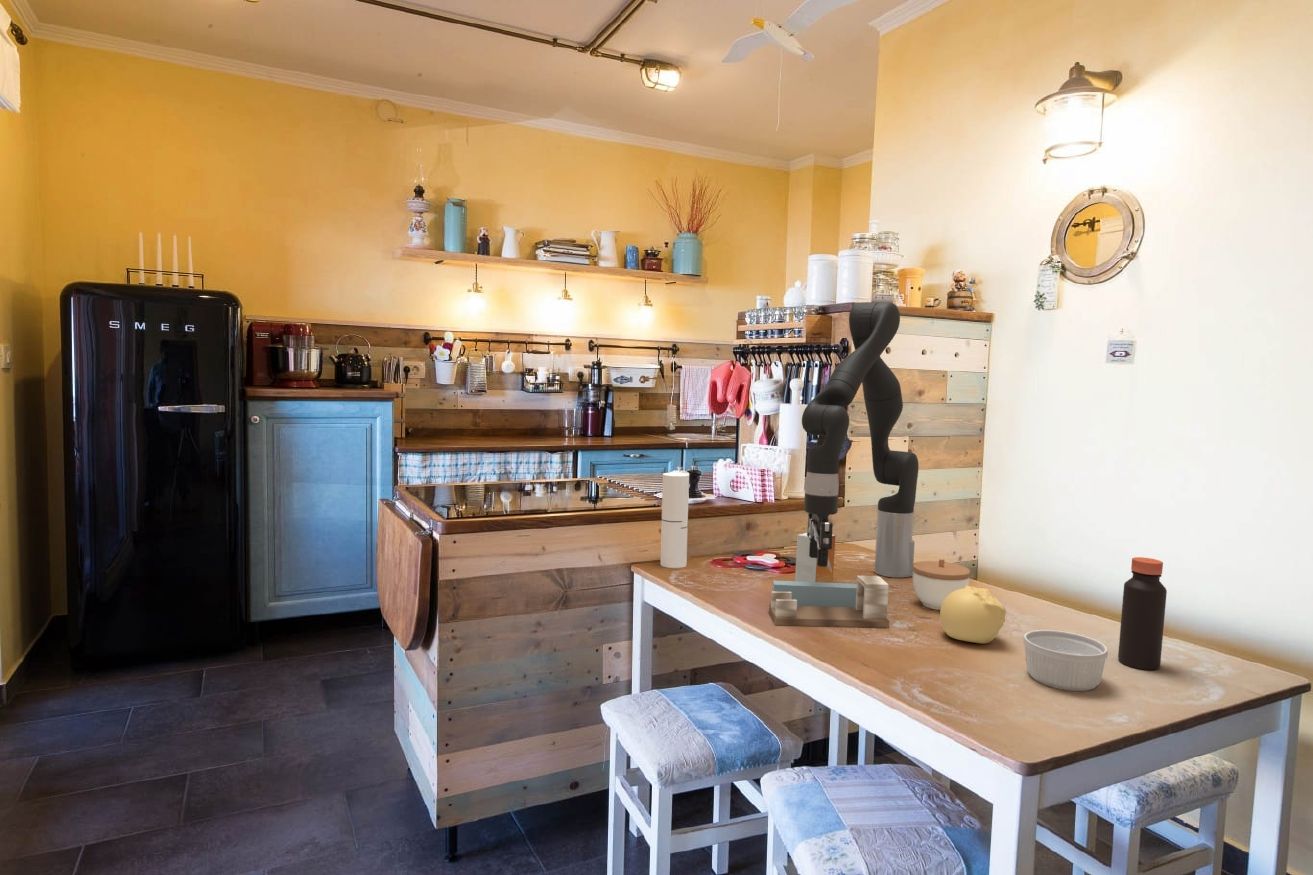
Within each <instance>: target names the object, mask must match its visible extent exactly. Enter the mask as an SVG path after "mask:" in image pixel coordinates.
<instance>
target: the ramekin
mask: <svg viewBox="0 0 1313 875" xmlns="http://www.w3.org/2000/svg"><path fill="white" fill-rule="evenodd" d="M1022 641H1023V645H1024V652H1025V653H1024V654H1025V664H1026V665H1025V666H1026V670H1027V672H1028V674H1029V675H1030V676H1031V678H1033V680H1035V681H1037V682H1039V683H1041V684H1043V685H1046V686H1049V687H1052V688H1056V689H1059V690H1060V689H1061V690H1064V691H1074V692H1086V691H1091V690H1093V689H1095V688H1096V687H1098V686H1099V685H1100V683H1101V681H1102V678H1103V672H1104V667H1105V662H1106V660H1107V658H1108V653H1109V652H1108V647H1107V646H1106V645H1105V644H1104V643H1103V642H1102V641H1099V640H1097V639H1095V638H1092V637H1089V636H1087V635H1082V634H1079V633H1074V632H1069V631H1062V630H1056V629H1037V630H1035V629H1034V630H1030V631H1028V632H1026V633H1024V635H1023V640H1022Z"/></svg>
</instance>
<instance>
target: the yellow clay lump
mask: <svg viewBox="0 0 1313 875" xmlns="http://www.w3.org/2000/svg"><path fill="white" fill-rule="evenodd" d="M1006 615H1007V611H1006V608H1005V605H1004V604H1003V603H1001V602H1000V600H999V599H998V598H997V597H996V596H994V594H992V593H991V592H990V591H989V589H987V588H983V587H975V586H970V585H969V586H967V585H966V586H965V588H963V589H958V590H955V591H953V592H951V593H950V594H949V595H948V596H947V597H946V598H945V599H944V601H943V603H942V605H941V609H940V610H939V617H940V618H939V619H940V624H941V626H942V628H943V631H944V632H945V634H946V635H947V636H949V637H951V638H952V639H955V640H958V641H962V642H963V641H964V642H969V643H976V644H989V643H990V642H992V641H993V640H994V639H995V638H997V636H998V634H999V632H1000V630H1001V629H1002V628H1003V626H1004V623H1005V621H1006V620H1005V618H1006Z"/></svg>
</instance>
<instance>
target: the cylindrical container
mask: <svg viewBox="0 0 1313 875" xmlns="http://www.w3.org/2000/svg"><path fill="white" fill-rule="evenodd" d="M689 489H690V474H689V473H686V472H684V473H683V472H665V473H662V493H661V494H662V495H661V529H660V531H661V532H660V538H661V539H660V566H661V567H664V568H669V569H681V568H685V567H686V566H687V560H688V557H687V556H688V528H689V527H688V524H689V523H688V521H689V495H690V490H689Z"/></svg>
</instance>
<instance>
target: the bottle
mask: <svg viewBox="0 0 1313 875" xmlns="http://www.w3.org/2000/svg"><path fill="white" fill-rule="evenodd" d="M1163 566H1164V562H1163V561H1161V560H1159V559H1155V558H1150V557H1144V556H1143V557H1139V556H1138V557H1136V556H1135V557H1132V558H1131V568H1130V570H1131V571H1130V573H1132V577H1131V578H1129V579H1128V580H1127V581H1125V582H1124V584H1123V591H1122V592H1123V593H1122V602H1121V603H1122V605H1121V616H1120V617H1121V618H1120V630H1119V639H1118V640H1119V642H1118V653H1117V658H1118V659H1117V660H1118V661H1119V662H1120V663H1121V664H1123V665H1125V666H1128V667H1130V668H1134V669H1138V670H1145V671H1155V670H1158V669H1159V668H1161V661H1162V650H1163V649H1162V648H1163V639H1164V638H1163V637H1164V627H1165V615H1166V607H1167V606H1166V604H1167V603H1166V602H1167V593H1168V592H1167V588H1166V586H1165V585H1164V584H1163V583H1162V582H1161V580H1160V578H1161V577H1162V575H1163Z"/></svg>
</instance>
